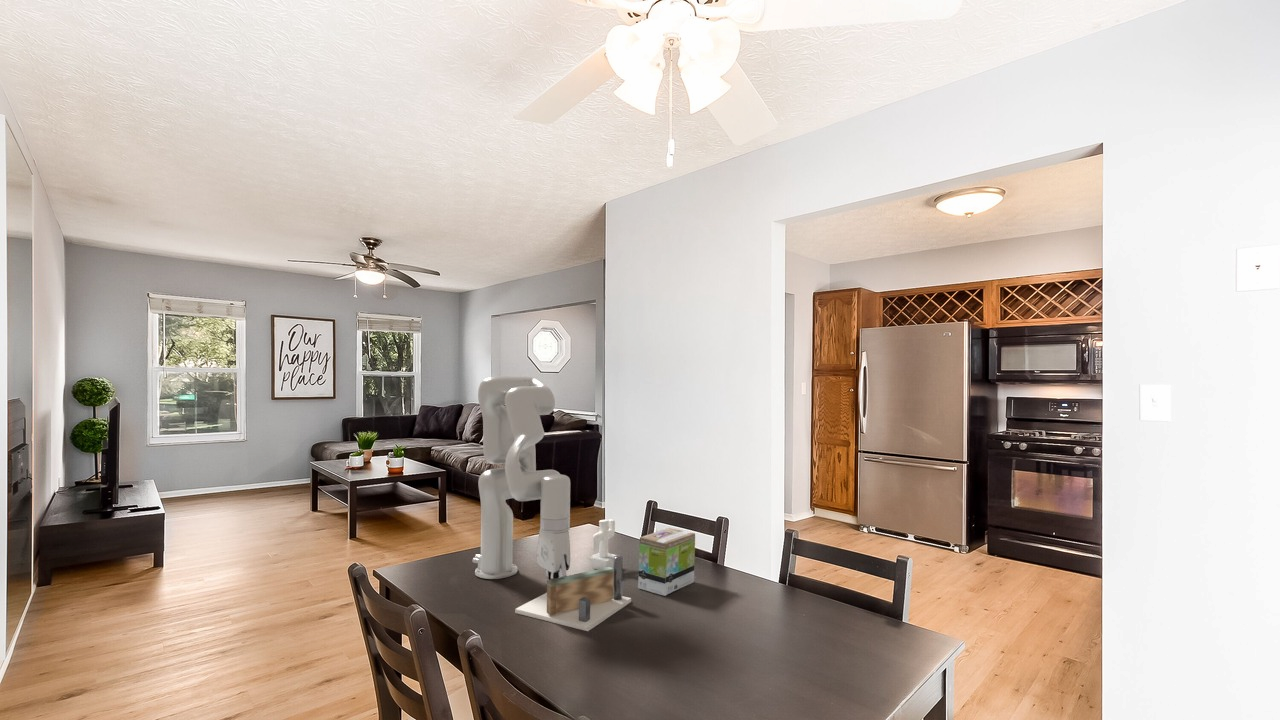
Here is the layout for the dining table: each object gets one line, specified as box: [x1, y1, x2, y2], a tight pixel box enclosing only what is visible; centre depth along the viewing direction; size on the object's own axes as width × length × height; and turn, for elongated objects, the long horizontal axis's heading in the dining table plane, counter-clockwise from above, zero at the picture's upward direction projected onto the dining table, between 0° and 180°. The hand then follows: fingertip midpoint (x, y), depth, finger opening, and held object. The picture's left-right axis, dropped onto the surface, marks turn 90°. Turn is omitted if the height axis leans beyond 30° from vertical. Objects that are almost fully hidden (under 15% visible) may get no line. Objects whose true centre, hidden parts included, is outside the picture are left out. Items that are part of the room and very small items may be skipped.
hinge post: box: [579, 555, 623, 622], centre depth 152 cm, size 2×18×12 cm, turn 152°
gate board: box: [514, 592, 632, 632], centre depth 155 cm, size 22×21×1 cm
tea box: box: [637, 527, 696, 597], centre depth 172 cm, size 15×10×15 cm, turn 143°
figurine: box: [587, 519, 620, 570], centre depth 187 cm, size 7×9×15 cm
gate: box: [546, 567, 614, 615], centre depth 152 cm, size 18×2×8 cm, turn 126°
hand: (553, 595), depth 152 cm, fingers closed
